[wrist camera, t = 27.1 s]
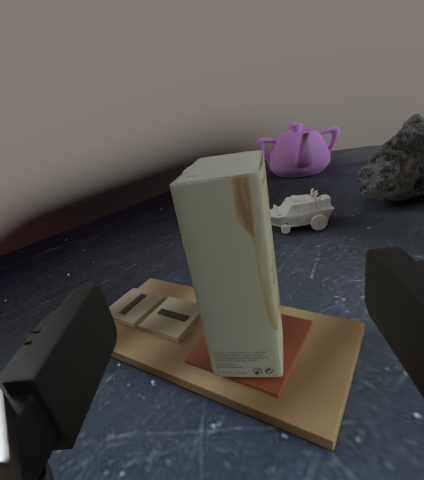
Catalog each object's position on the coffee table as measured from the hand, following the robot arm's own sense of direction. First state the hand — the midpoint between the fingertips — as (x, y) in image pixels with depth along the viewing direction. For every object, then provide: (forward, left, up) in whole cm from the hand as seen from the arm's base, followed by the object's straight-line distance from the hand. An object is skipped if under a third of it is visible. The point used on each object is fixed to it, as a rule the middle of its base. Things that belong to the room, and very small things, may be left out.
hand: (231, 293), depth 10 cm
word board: (+8, +8, -11) cm, 16 cm away
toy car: (+29, +8, -11) cm, 32 cm away
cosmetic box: (+8, +4, -10) cm, 13 cm away
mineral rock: (+41, -2, -11) cm, 42 cm away
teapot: (+54, +16, -11) cm, 57 cm away
